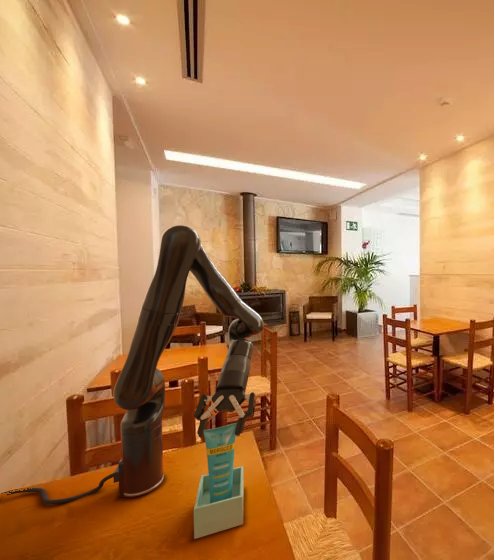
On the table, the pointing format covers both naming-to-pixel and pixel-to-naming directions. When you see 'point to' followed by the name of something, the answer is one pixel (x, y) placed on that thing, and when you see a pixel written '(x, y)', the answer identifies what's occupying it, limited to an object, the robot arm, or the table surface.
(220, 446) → the tube
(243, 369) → the robot arm
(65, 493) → the table surface
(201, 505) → the open pale green box
